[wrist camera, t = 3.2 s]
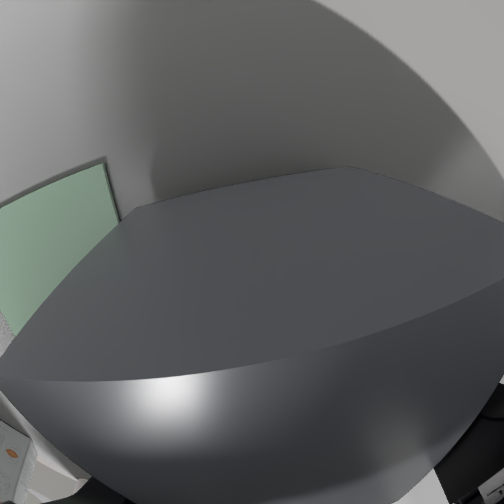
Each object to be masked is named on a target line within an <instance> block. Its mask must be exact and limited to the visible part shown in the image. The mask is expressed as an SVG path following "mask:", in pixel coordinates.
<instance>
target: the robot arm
mask: <svg viewBox="0 0 504 504" xmlns="http://www.w3.org/2000/svg"><path fill="white" fill-rule="evenodd" d="M434 470H435V472H436V475H437V477H438V479H439V481H440V483H441V486H442V488H443V490H444V493H445V495H446V497H447V500H448V502H449V504H453V503H455V504H504V384H501V383H498V385H497V387H496V388H495V390H494V392H493V393H492V395H491V396H490V398H489V399H488V401H487V402H486V404H485V405H484V407H483V408H482V410H481V411H480V413H479V414H478V415H477V417H476V418H475V420H474V421H473V422H472V424H471V425H470V426H469V428H468V429H467V430H466V431H465V433H464V434H463V435H462V436H461V438H460V439H459V440H458V441H457V442H456V444H455V445H454V446H453V447H452V448H451V449H450V451H449V452H448V453H447V454H446V455H445V456H444V457H443V458H442V460H441V461H440V462H439V463H438V464H437V465H436V466H435V467H434ZM0 504H16V503H14V502H12V501H10V500H8V501H5V502H2V503H0ZM42 504H136V503H134V502H133V501H131V500H129V499H127V498H126V497H124V496H122V495H121V494H119V493H117V492H116V491H114V490H113V489H111V488H109V487H108V486H106V485H105V484H103V483H102V482H100V481H99V480H97V479H96V478H94V477H93V476H92V477H91V478H90V479H89V480H88V481H87V482H86V483H85V484H84V485H83V486H82V487H81V488H80V489H79V490H78V491H77V492H76V493H74V494H73V495H71V496H69V497H67V498H63V499H59V500H55V501H51V502H46V503H42Z"/></svg>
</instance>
